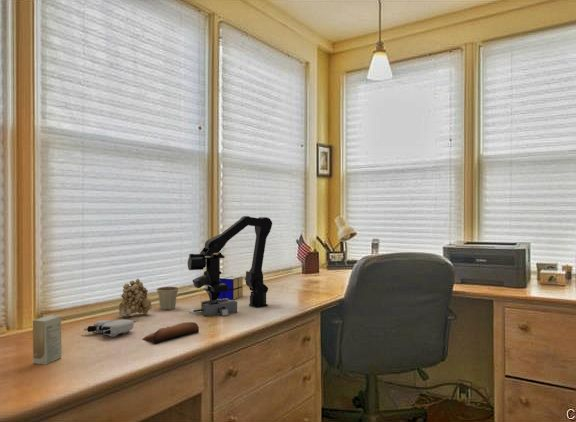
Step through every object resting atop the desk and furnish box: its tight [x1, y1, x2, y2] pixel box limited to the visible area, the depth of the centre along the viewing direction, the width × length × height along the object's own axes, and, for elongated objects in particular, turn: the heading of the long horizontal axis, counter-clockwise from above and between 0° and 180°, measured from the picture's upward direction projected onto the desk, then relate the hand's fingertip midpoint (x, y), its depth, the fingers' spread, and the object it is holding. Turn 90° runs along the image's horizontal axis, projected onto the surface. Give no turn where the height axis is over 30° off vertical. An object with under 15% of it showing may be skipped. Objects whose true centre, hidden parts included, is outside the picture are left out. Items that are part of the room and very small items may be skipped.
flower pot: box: [156, 286, 180, 311], centre depth 194 cm, size 9×9×9 cm
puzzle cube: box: [218, 274, 244, 301], centre depth 219 cm, size 10×10×10 cm
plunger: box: [193, 298, 230, 317], centre depth 184 cm, size 16×10×4 cm
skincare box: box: [32, 314, 63, 365], centre depth 127 cm, size 6×4×12 cm
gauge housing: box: [187, 299, 238, 317], centre depth 188 cm, size 16×14×4 cm
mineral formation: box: [118, 278, 152, 318], centre depth 181 cm, size 8×13×15 cm, turn 140°
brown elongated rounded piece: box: [141, 321, 200, 345], centre depth 152 cm, size 18×7×7 cm
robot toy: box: [83, 319, 140, 338], centre depth 155 cm, size 12×4×15 cm
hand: (212, 305), depth 191 cm, fingers closed
